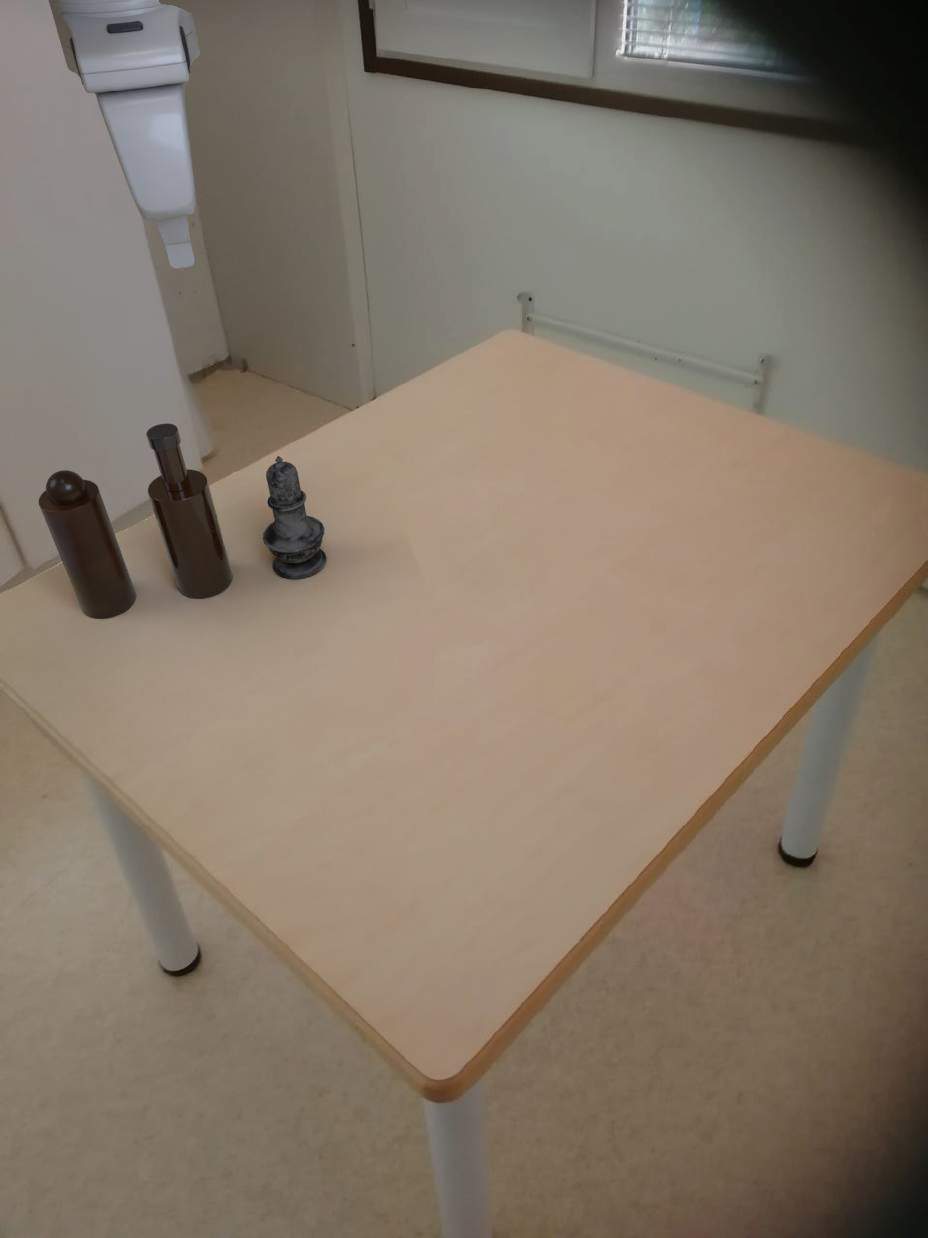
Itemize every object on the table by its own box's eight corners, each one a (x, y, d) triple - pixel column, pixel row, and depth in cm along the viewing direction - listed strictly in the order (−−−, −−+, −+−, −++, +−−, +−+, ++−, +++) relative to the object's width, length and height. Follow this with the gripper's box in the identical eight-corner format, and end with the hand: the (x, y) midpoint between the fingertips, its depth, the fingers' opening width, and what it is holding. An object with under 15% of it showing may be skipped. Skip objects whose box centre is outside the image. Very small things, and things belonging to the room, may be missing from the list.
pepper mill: (81, 624, 88) (27, 494, 78) (82, 591, 91) (31, 463, 82) (136, 612, 89) (90, 482, 79) (135, 580, 92) (90, 452, 83)
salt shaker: (341, 555, 94) (324, 448, 86) (303, 588, 90) (281, 480, 82) (295, 538, 96) (274, 433, 88) (256, 569, 93) (231, 463, 85)
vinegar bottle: (179, 604, 89) (131, 451, 78) (176, 571, 93) (129, 421, 82) (235, 592, 90) (195, 440, 79) (230, 560, 94) (191, 411, 83)
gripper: (81, 12, 71) (133, 206, 80) (76, 68, 56) (140, 298, 65) (168, 3, 72) (209, 195, 81) (185, 55, 57) (234, 284, 66)
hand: (179, 242), depth 73 cm, fingers open, 8 cm apart
